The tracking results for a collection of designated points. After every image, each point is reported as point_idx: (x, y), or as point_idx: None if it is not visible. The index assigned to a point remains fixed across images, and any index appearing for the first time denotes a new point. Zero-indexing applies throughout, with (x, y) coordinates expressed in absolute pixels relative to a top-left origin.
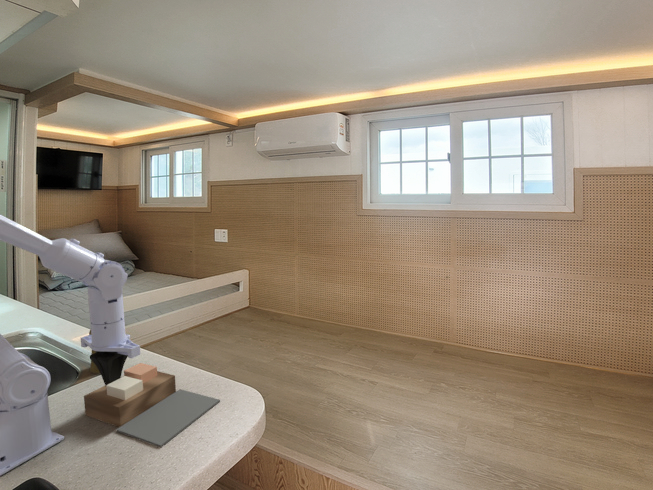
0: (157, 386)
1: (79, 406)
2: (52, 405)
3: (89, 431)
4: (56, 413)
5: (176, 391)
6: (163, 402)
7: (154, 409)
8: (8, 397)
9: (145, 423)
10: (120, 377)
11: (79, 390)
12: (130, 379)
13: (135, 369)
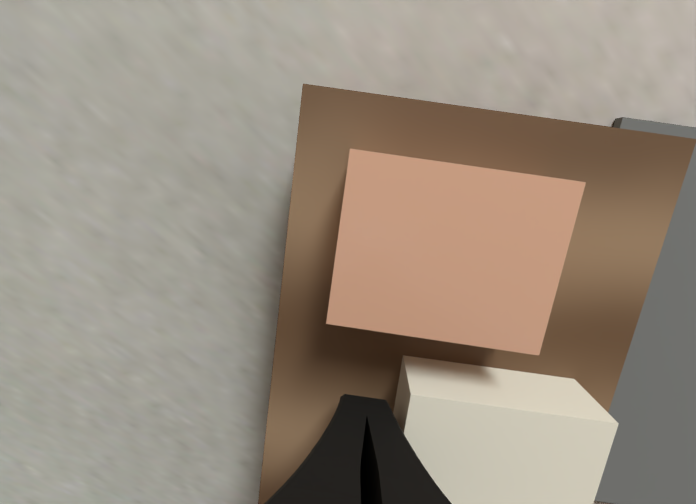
0: (637, 308)
1: (187, 378)
2: (61, 398)
3: None
4: (146, 439)
5: None
6: None
7: None
8: None
9: (622, 434)
10: (397, 423)
11: (36, 265)
12: (504, 431)
13: (410, 278)
